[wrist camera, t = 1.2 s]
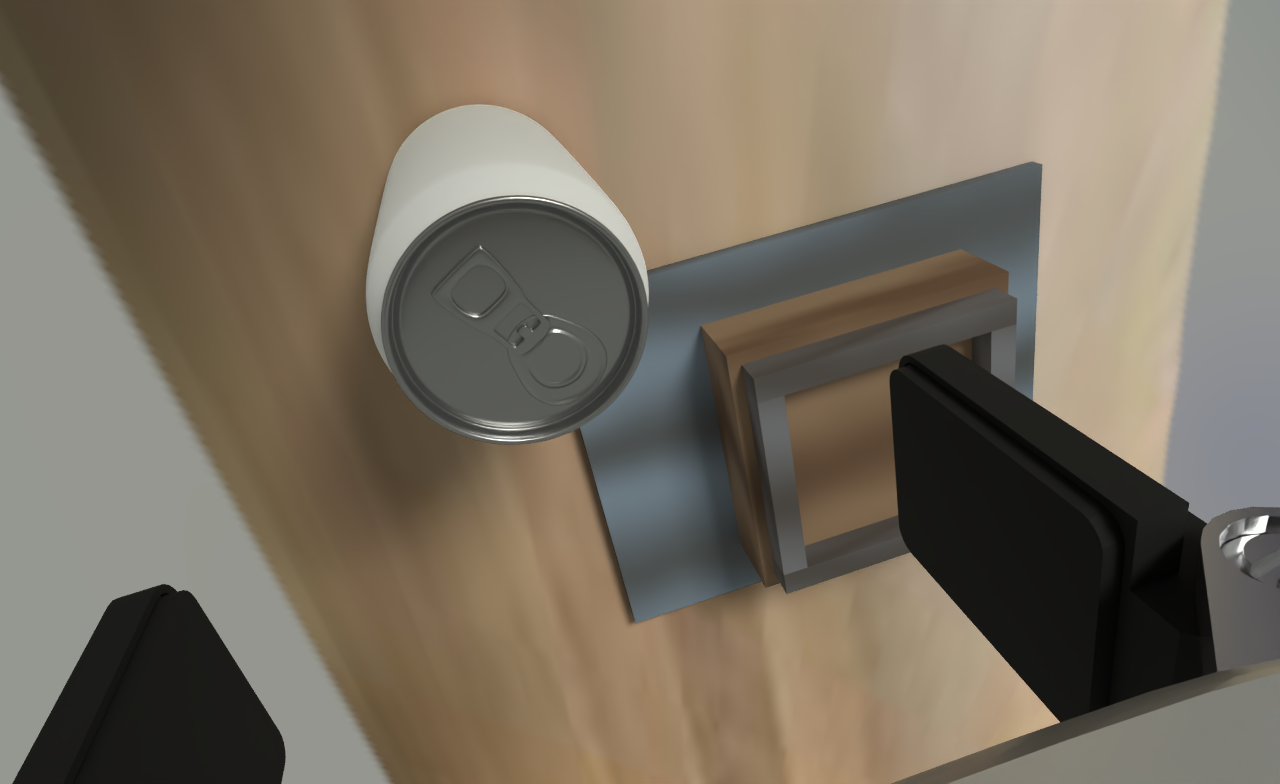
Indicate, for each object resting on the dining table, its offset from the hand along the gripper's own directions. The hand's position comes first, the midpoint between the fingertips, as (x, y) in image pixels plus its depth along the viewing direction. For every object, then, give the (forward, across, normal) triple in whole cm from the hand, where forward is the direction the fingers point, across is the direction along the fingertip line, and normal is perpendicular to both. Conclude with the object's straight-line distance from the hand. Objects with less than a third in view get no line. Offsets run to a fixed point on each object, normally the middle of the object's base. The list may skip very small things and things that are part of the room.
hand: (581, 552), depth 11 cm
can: (+20, 0, 0) cm, 20 cm away
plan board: (+20, -12, +12) cm, 26 cm away
